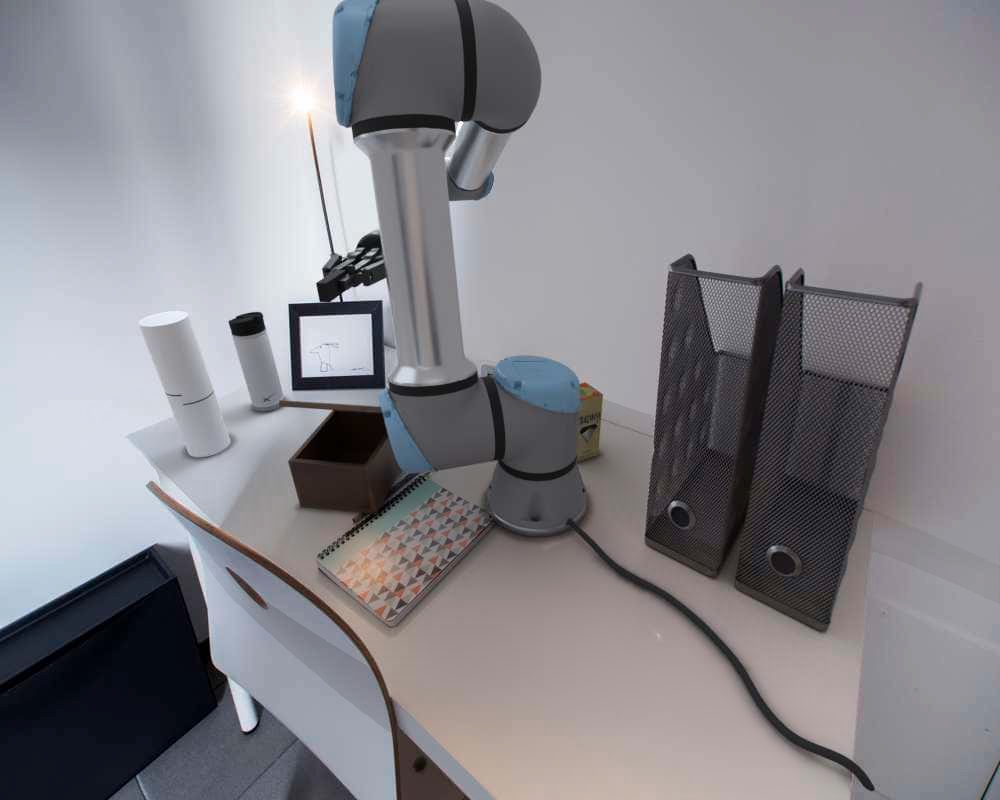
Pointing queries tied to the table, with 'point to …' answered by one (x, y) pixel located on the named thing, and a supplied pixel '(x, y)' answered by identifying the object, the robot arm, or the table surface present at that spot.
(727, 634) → the table surface
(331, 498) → the keepsake box
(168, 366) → the cylindrical container
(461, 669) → the table surface
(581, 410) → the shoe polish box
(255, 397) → the travel mug
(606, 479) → the table surface
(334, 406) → the lid
